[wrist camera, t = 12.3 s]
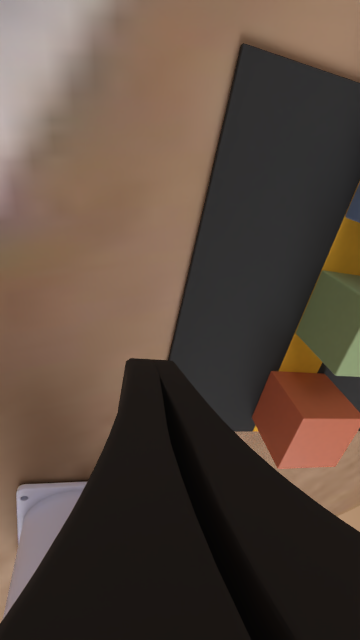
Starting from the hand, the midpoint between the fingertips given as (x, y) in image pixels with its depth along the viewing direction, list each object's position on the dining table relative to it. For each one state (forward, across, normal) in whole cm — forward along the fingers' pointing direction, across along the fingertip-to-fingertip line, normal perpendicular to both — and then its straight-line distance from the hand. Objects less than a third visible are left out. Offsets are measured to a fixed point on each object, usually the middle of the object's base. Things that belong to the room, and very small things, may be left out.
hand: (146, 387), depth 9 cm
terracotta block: (+8, -12, +7) cm, 16 cm away
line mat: (+8, -12, 0) cm, 15 cm away
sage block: (+8, -13, 0) cm, 15 cm away
